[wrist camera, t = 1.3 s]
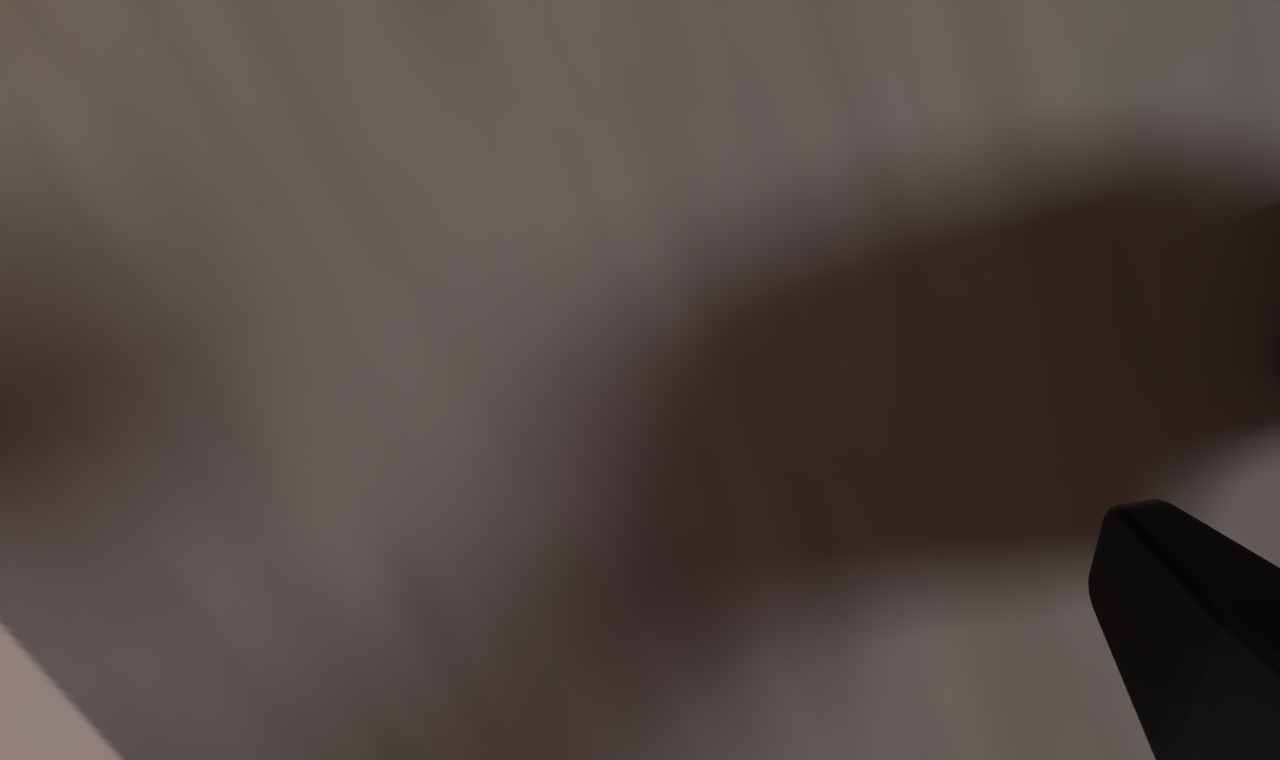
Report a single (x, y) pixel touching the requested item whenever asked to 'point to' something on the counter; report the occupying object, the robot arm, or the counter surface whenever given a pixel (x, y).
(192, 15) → the counter surface
